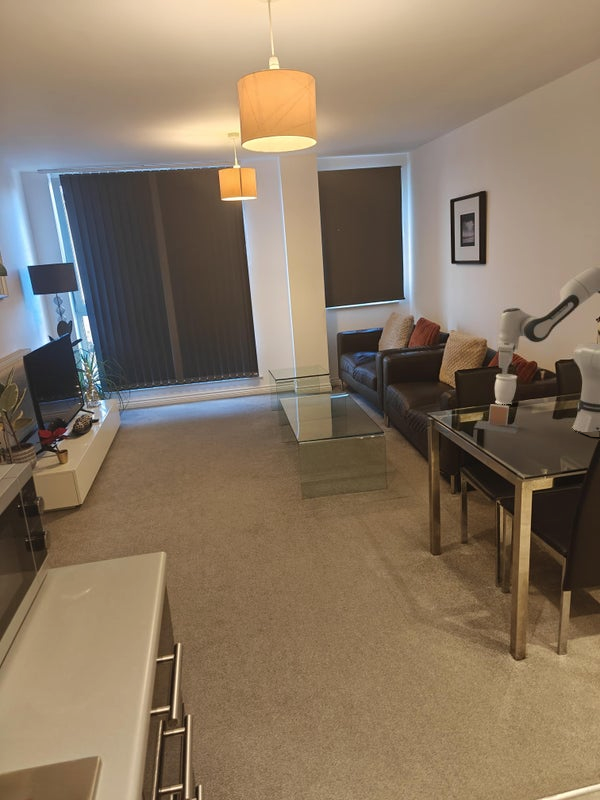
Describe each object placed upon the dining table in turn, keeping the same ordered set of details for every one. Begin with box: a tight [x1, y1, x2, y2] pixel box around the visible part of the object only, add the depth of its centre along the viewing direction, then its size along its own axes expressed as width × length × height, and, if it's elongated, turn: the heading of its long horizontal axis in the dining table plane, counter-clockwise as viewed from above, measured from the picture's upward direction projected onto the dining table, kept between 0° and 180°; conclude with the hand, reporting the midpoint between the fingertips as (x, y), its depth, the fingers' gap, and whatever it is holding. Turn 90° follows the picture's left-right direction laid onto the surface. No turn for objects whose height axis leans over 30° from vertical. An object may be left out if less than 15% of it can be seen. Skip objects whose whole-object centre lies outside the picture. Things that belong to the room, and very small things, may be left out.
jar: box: [494, 373, 518, 406], centre depth 278 cm, size 11×10×15 cm
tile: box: [488, 403, 510, 426], centre depth 245 cm, size 8×2×9 cm, turn 63°
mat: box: [473, 419, 519, 435], centre depth 243 cm, size 18×12×1 cm, turn 63°
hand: (504, 373), depth 245 cm, fingers closed
